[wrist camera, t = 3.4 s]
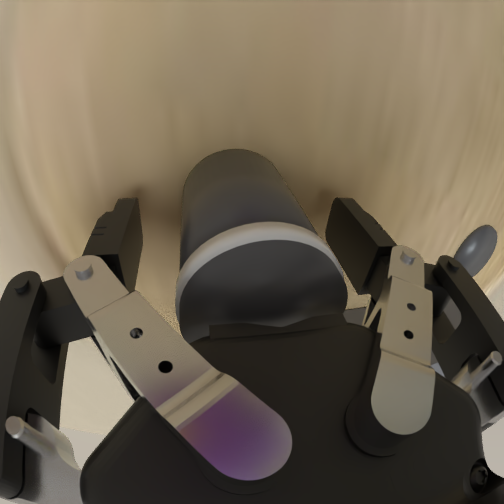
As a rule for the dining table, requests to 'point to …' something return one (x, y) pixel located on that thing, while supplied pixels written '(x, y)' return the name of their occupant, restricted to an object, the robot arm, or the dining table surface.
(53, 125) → the dining table surface
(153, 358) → the robot arm
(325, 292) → the lens
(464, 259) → the grey dome
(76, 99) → the dining table surface
